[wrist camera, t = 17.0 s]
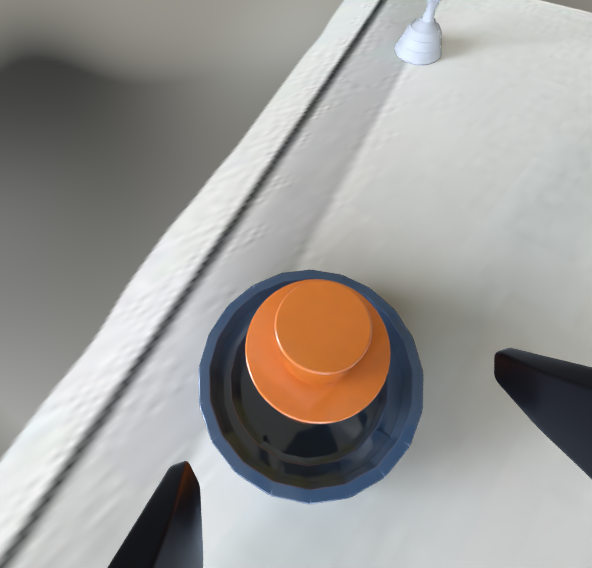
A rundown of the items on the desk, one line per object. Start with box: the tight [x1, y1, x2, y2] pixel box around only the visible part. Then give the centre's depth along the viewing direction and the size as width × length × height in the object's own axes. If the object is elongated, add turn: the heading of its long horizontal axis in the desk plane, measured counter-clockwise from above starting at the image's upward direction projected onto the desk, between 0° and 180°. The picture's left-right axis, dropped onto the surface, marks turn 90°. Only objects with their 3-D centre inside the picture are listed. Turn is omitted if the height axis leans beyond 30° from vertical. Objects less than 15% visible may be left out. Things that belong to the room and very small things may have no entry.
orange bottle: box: [245, 279, 391, 424], centre depth 14 cm, size 5×5×12 cm
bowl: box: [199, 270, 423, 504], centre depth 19 cm, size 12×12×4 cm
